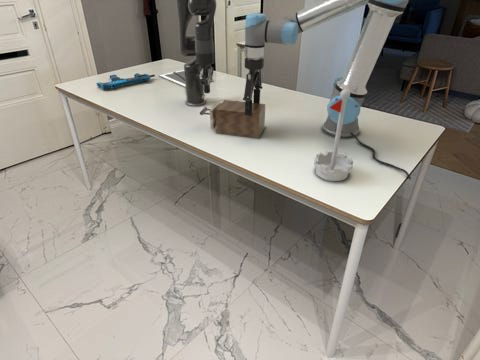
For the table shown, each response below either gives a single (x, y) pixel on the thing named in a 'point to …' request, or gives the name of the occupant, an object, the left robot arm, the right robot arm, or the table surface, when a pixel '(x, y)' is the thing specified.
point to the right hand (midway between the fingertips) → (252, 109)
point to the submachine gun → (124, 81)
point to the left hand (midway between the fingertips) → (207, 92)
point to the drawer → (211, 115)
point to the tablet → (175, 77)
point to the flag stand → (335, 150)
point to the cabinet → (240, 119)
